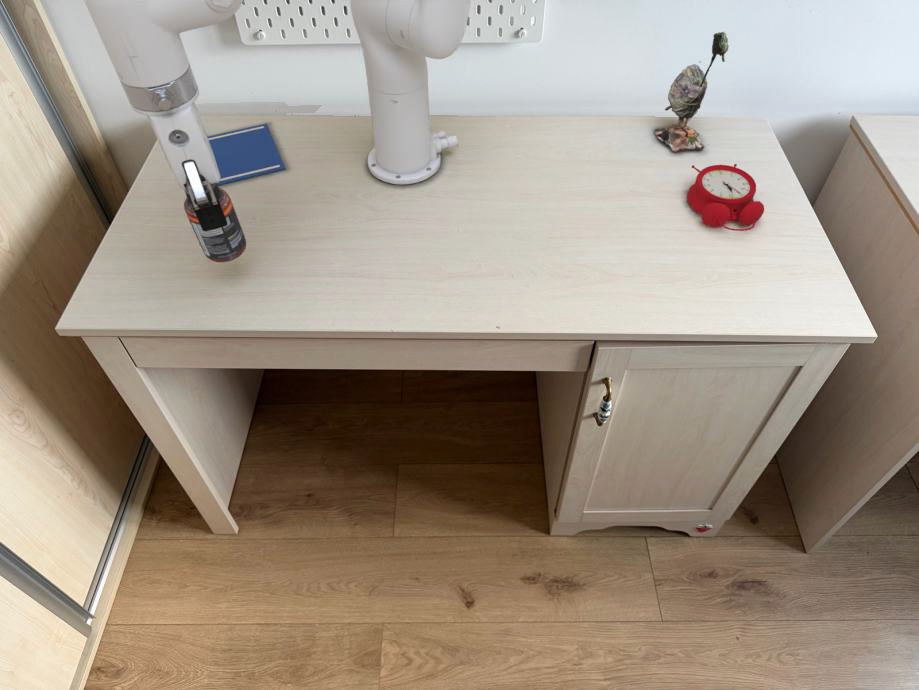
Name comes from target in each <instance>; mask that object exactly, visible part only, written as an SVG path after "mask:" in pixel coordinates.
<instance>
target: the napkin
mask: <svg viewBox="0 0 919 690" xmlns="http://www.w3.org/2000/svg"><path fill="white" fill-rule="evenodd" d="M207 137H208V140H209V143H210V145H211V148H212V151H213V154H214V157H215V160H216V163H217V167H218V170H219V173H220V177H221V178H220V181H219V182H218V183H216V184H217V186H218V187H219V186H222V185H228V184H231V183H236V182H239V181H240V182H241V181H243V180H247V179H251V178H256V177H260V176H264V175H268V174H273V173H276V172H277V173H278V172H281V171H285V170H286V166H285V165H284V162H283V159H282V157H281V154H280V152H279V150H278V147H277V145H276V143H275V140H274V137H273V136H272V134H271V131H270V129H269V126H268V123H262V124H257V125H252V126H249V127H245V128H240V129H235V130H231V131H226V132H222V133H218V134H213V135H209V136H208V135H207Z"/></svg>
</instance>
